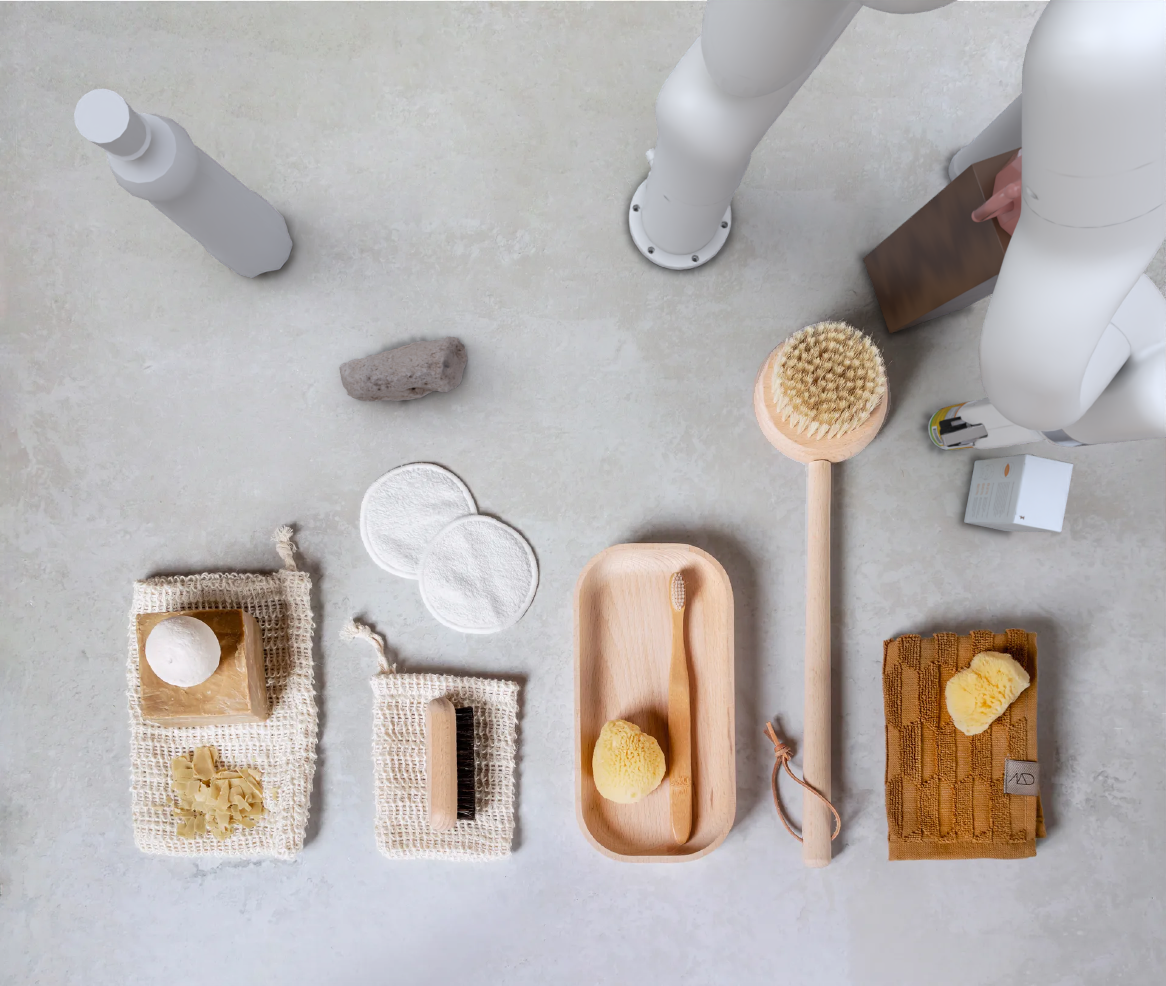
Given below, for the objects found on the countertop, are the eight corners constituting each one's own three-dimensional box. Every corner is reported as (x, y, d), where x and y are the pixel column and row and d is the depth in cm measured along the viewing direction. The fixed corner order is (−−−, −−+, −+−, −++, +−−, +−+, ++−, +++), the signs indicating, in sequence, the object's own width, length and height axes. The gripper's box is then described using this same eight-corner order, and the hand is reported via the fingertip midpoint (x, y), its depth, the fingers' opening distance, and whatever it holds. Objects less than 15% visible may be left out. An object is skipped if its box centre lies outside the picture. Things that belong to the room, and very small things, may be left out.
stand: (862, 258, 90) (971, 163, 65) (938, 232, 90) (1075, 127, 65) (889, 333, 90) (1009, 268, 65) (965, 307, 90) (1113, 231, 65)
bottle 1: (284, 199, 90) (137, 46, 60) (307, 268, 90) (171, 150, 60) (214, 222, 90) (31, 80, 60) (237, 291, 90) (65, 185, 60)
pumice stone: (466, 337, 90) (452, 316, 80) (471, 398, 90) (458, 385, 80) (344, 348, 90) (315, 329, 80) (349, 409, 90) (321, 397, 80)
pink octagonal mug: (943, 179, 65) (1001, 127, 56) (1072, 134, 65) (1151, 75, 56) (976, 273, 65) (1040, 236, 56) (1106, 228, 65) (1190, 184, 56)
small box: (1005, 531, 90) (1062, 535, 79) (961, 522, 90) (1012, 524, 79) (1018, 468, 90) (1076, 463, 79) (973, 459, 90) (1026, 452, 79)
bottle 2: (995, 164, 90) (1154, 35, 66) (973, 199, 90) (1124, 82, 65) (960, 142, 91) (1106, 4, 66) (938, 177, 90) (1075, 52, 65)
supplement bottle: (976, 418, 90) (1027, 408, 80) (958, 457, 89) (1006, 453, 80) (937, 399, 89) (983, 387, 80) (919, 439, 89) (962, 432, 80)
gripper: (1151, 336, 67) (1027, 370, 85) (978, 397, 66) (890, 418, 85) (1178, 413, 67) (1048, 431, 85) (1005, 474, 66) (911, 479, 85)
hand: (970, 424), depth 85 cm, fingers closed on supplement bottle, 5 cm apart
